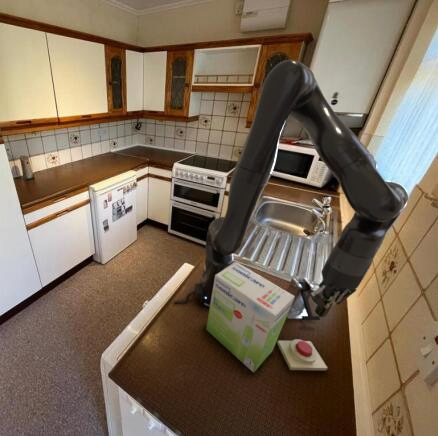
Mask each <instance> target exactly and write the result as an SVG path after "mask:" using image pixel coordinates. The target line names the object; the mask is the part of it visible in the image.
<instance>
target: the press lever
mask: <svg viewBox="0 0 438 436" xmlns="http://www.w3.org/2000/svg"><path fill="white" fill-rule="evenodd" d="M298 283H299V284H300V285H301V287H302V288H301V291H300V292H301V296H302V299H303V302H304V305H305V308H304V309H305V310H306V312H307V315H308V316H302V319H301V320H302V321H321V317H320V316H319V315H314V314H313V312H312V309H311V305H310V302H309V299H307V296H306V292H305V291H306V290H308V289H307V286H306V283H305V282H303V280H302V281H301V280H299V281H298Z"/></svg>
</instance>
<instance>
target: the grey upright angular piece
mask: <svg viewBox="0 0 438 436" xmlns="http://www.w3.org/2000/svg"><path fill="white" fill-rule="evenodd" d="M302 281H303V282H305V283H306V286H307V289H308V290H306V291H305V292H306V296H307V299H308V300H309V299H310V297H311V296H310V294H309V290H310V289H313V290H315V286H314V285H313V284H312V283H311V281H310V280H309V279H308V278H307V277H304V278H302ZM298 282H299V281H298V280H297V279H296V278H295V277H291V280H290V283H289V284H288V287H287V290H286V291H287V292H288V293H290V294H292V295H294V296H295V297H294V300H293V302H292V305H291V307H290V310H289V312H288V315H287V317H286V319H288V320H289V319H290V320H291V319H293V320H295V319H296V320H303V319H302V316H308V315H307V312H306V309H305V305H304V302H303V299H302V296H301V292H300V291H301V288H302V287H301V285H300V284H299V283H298Z"/></svg>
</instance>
